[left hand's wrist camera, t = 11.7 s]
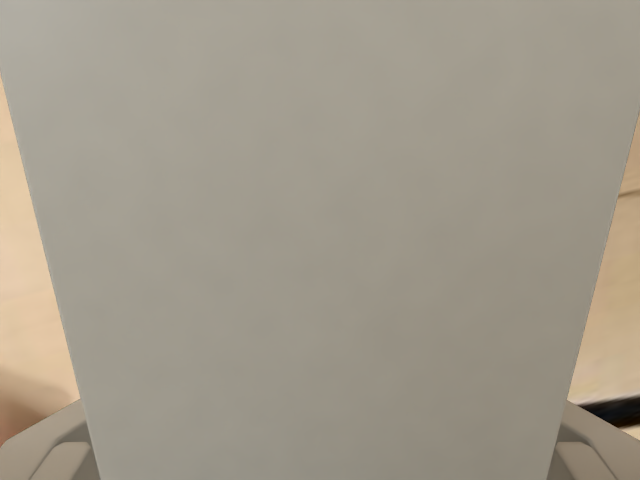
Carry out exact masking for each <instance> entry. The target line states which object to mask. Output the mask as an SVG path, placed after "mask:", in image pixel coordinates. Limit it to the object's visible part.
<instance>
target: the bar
mask: <svg viewBox="0 0 640 480" xmlns="http://www.w3.org/2000/svg"><path fill="white" fill-rule="evenodd" d="M0 74H1V78H2V82H3V86H4V90H5V94H6V98H7V102H8V106H9V110H10V114H11V118H12V122H13V126H14V130H15V134H16V138H17V142H18V146H19V151H20V155H21V159H22V163H23V167H24V171H25V175H26V179H27V183H28V187H29V191H30V195H31V199H32V203H33V207H34V211H35V215H36V219H37V223H38V228H39V232H40V236H41V240H42V244H43V248H44V252H45V256H46V260H47V264H48V268H49V272H50V276H51V280H52V284H53V288H54V292H55V296H56V300H57V304H58V309H59V313H60V317H61V321H62V325H63V329H64V333H65V337H66V341H67V345H68V349H69V353H70V357H71V361H72V365H73V369H74V373H75V377H76V381H77V386H78V390H79V394H80V398H81V402H82V406H83V410H84V414H85V418H86V422H87V426H88V430H89V434H90V438H91V442H92V446H93V450H94V454H95V458H96V462H97V467H98V471H99V475H100V479H101V480H546V479H547V475H548V471H549V467H550V463H551V459H552V455H553V452H554V448H555V444H556V440H557V436H558V432H559V428H560V424H561V420H562V416H563V412H564V408H565V404H566V400H567V396H568V392H569V388H570V384H571V380H572V376H573V372H574V368H575V364H576V361H577V357H578V353H579V349H580V345H581V341H582V337H583V333H584V329H585V325H586V321H587V317H588V313H589V309H590V305H591V301H592V297H593V293H594V289H595V285H596V281H597V277H598V273H599V269H600V266H601V262H602V258H603V254H604V250H605V246H606V242H607V238H608V234H609V230H610V226H611V222H612V218H613V214H614V210H615V206H616V202H617V198H618V194H619V190H620V186H621V182H622V178H623V175H624V171H625V167H626V163H627V159H628V155H629V151H630V147H631V143H632V139H633V135H634V131H635V127H636V123H637V119H638V115H639V111H640V0H0Z"/></svg>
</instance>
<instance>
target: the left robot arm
mask: <svg viewBox="0 0 640 480" xmlns="http://www.w3.org/2000/svg"><path fill="white" fill-rule="evenodd" d="M0 480H101V479H100V475H99V471H98V467H97V462H96V458H95V454H94V450H93V446H92V442H91V438H90V434H89V430H88V426H87V422H86V418H85V414H84V410H83V406H82V402H81V399H79V400H77V401H75V402H73V403H72V404H70V405H68V406H66V407H65V408H63V409H61V410H59V411H57V412H56V413H54V414H52V415H50V416H48V417H47V418H45V419H43V420H41V421H40V422H38V423H36V424H34V425H32V426H31V427H29V428H27V429H25V430H24V431H22V432H20V433H18V434H16V435H15V436H13V437H11V438H9V439H8V440H6V441H5V442H4V444H3V445H2V446H1V447H0ZM546 480H640V441H639V440H638V439H636V438H634V437H632V436H630V435H629V434H627V433H625V432H623V431H622V430H620V429H618V428H616V427H614V426H613V425H611V424H609V423H607V422H605V421H604V420H602V419H600V418H598V417H596V416H595V415H593V414H591V413H589V412H587V411H586V410H584V409H582V408H580V407H579V406H577V405H575V404H573V403H571V402H570V401H568V400H566V404H565V408H564V412H563V416H562V420H561V424H560V428H559V432H558V436H557V440H556V444H555V448H554V452H553V455H552V459H551V463H550V467H549V471H548V475H547V479H546Z"/></svg>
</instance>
